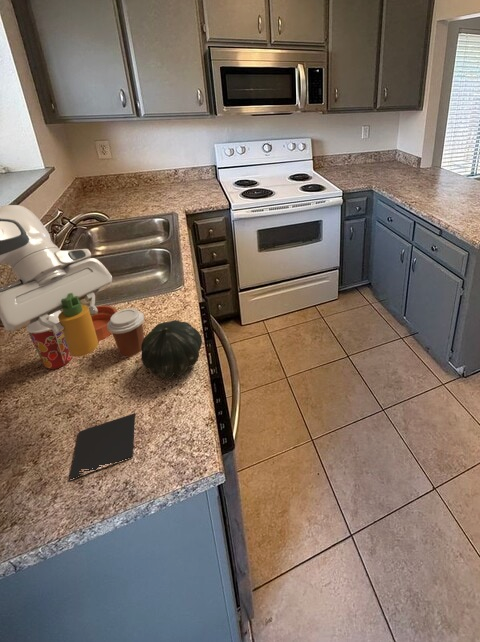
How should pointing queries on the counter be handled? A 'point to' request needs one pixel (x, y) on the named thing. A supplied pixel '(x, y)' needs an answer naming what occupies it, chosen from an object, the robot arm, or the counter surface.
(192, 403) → the counter surface
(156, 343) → the squash
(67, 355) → the smoothie
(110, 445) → the mat
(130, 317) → the coffee cup
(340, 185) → the counter surface
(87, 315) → the pineapple
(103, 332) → the bowl
